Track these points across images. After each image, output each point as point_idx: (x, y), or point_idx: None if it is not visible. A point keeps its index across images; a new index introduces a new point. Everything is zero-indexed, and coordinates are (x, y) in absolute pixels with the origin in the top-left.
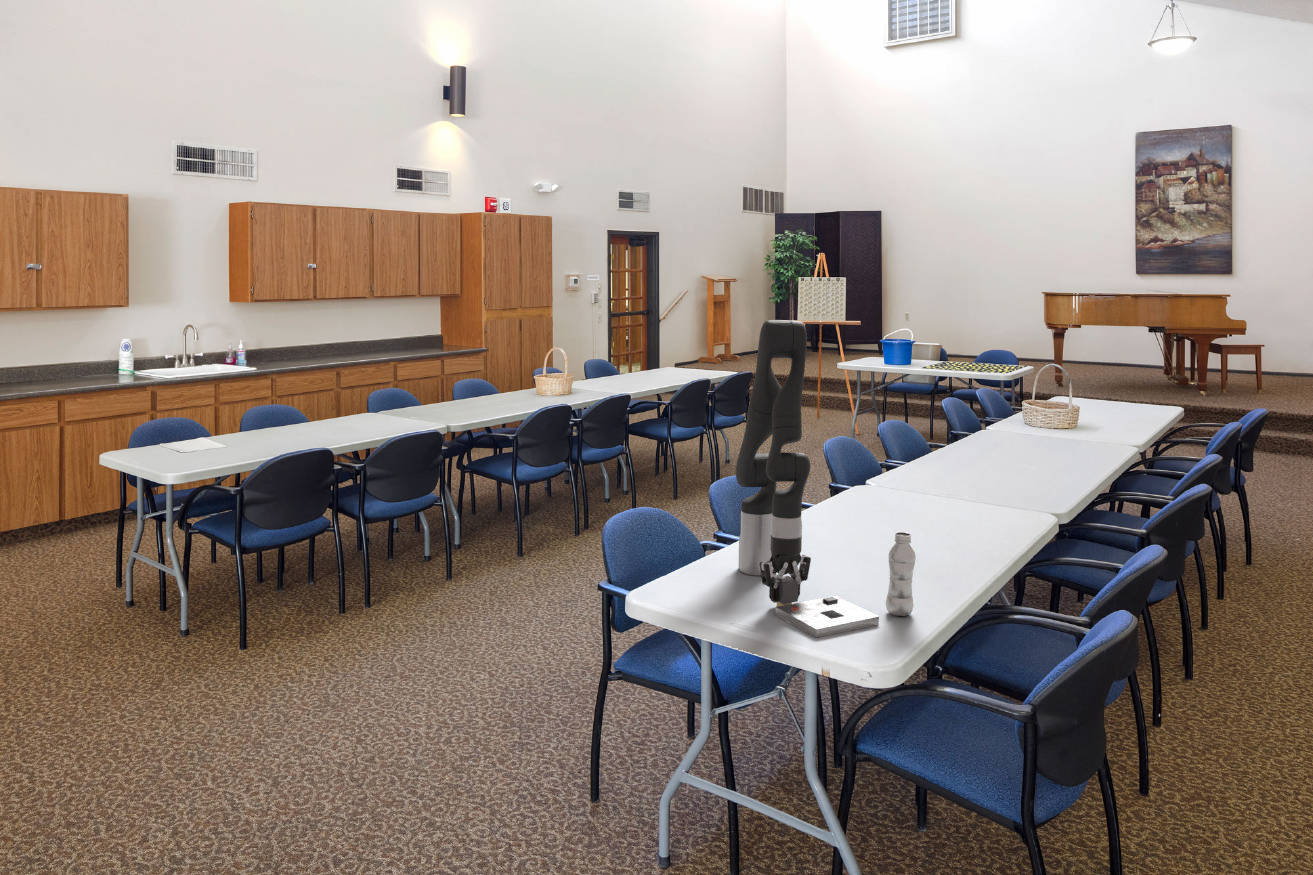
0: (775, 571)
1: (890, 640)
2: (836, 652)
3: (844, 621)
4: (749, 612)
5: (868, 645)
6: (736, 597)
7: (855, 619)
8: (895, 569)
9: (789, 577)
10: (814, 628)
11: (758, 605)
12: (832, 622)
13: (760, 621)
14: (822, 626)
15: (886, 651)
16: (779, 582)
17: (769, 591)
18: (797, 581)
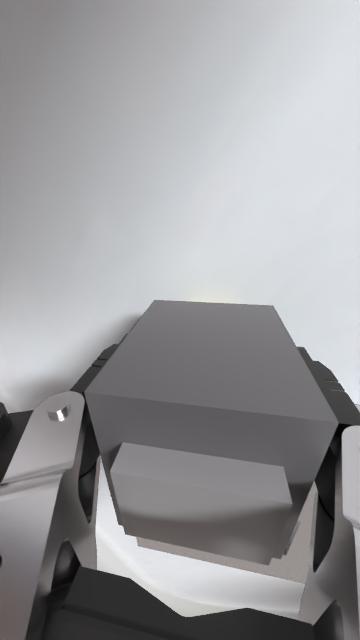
0: (24, 591)
1: (287, 589)
2: (141, 555)
3: (246, 564)
4: (36, 308)
5: (222, 574)
6: (21, 12)
7: (290, 574)
8: None
9: (249, 541)
10: (137, 540)
11: (106, 250)
12: (208, 552)
13: (50, 392)
14: (163, 547)
15: (231, 592)
16: (111, 489)
17: (84, 375)
18: (280, 553)
